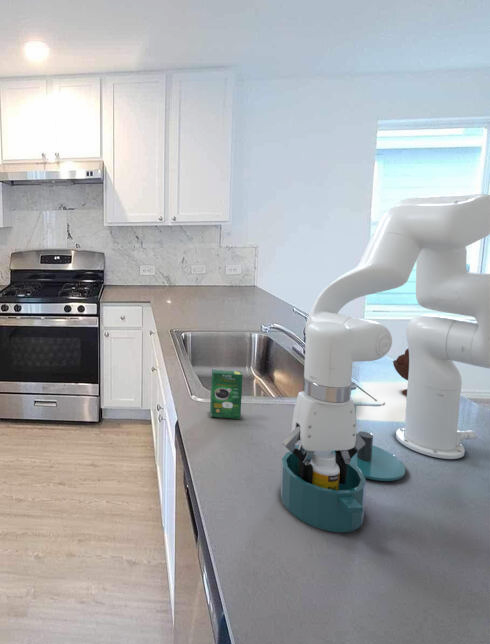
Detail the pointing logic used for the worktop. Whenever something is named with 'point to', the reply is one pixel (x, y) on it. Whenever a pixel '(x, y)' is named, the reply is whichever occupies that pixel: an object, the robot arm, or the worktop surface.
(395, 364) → the ice cream bowl
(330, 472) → the supplement bottle
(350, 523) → the pot
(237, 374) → the coffee box
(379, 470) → the lid
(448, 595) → the worktop surface
